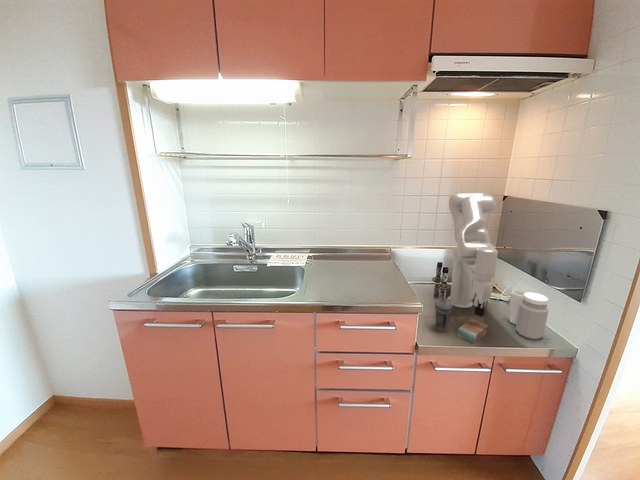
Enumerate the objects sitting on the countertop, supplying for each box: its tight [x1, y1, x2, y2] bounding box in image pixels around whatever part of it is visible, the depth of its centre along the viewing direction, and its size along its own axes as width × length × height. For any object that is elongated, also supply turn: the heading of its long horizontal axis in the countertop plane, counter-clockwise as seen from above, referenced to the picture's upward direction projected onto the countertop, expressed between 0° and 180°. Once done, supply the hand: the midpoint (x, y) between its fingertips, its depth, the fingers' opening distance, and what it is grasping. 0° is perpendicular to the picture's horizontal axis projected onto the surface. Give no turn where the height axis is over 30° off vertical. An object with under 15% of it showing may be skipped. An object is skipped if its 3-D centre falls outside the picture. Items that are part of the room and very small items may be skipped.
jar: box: [515, 291, 549, 340], centre depth 117 cm, size 10×10×18 cm
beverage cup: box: [434, 289, 454, 333], centre depth 123 cm, size 7×7×20 cm
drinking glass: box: [508, 289, 527, 325], centre depth 127 cm, size 7×7×15 cm
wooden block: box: [457, 318, 489, 344], centre depth 120 cm, size 4×7×12 cm
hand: (478, 314), depth 120 cm, fingers closed
